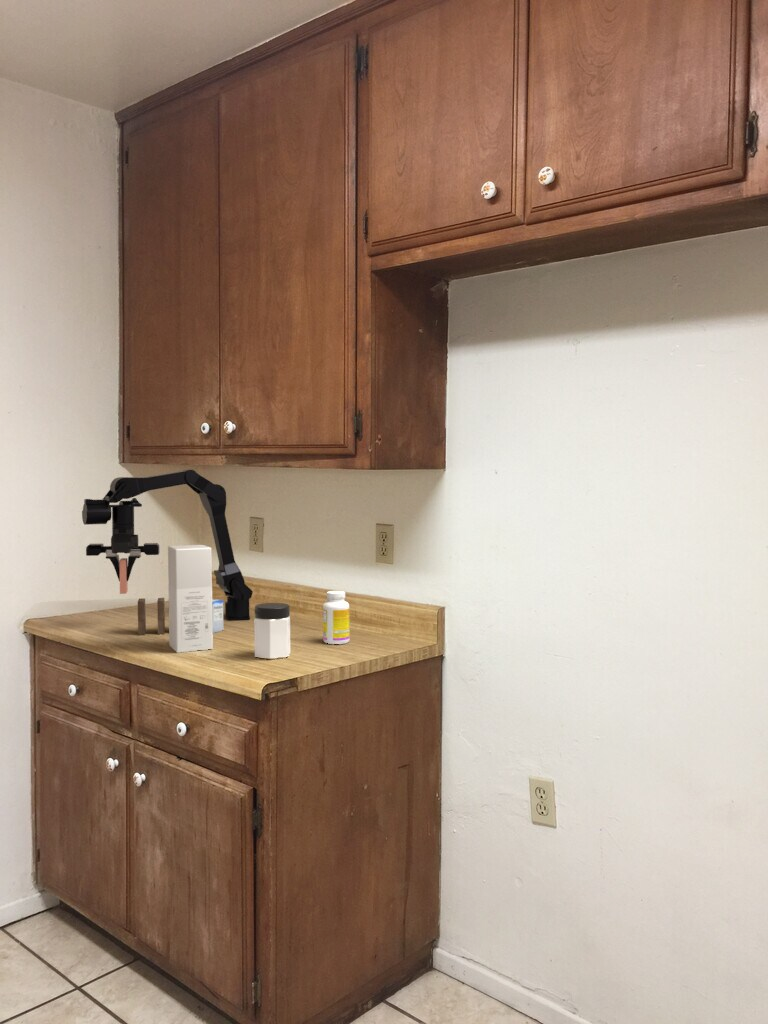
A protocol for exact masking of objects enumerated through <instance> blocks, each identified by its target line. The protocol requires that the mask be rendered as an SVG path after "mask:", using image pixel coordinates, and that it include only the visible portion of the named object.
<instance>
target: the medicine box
mask: <svg viewBox="0 0 768 1024" xmlns="http://www.w3.org/2000/svg"><path fill="white" fill-rule="evenodd" d="M212 618H213V634H216V633H215V632H217V633H219V632H218V631H221V632H223V631H224V600H223V599H219V598H217V599H216V598H212ZM222 630H223V631H222Z"/></svg>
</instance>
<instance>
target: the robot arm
mask: <svg viewBox="0 0 768 1024" xmlns="http://www.w3.org/2000/svg"><path fill="white" fill-rule="evenodd" d="M182 485H187V486H188V487H189V488H190V489H191V490H192V491H193V492H195V493H196V494H197V495H199V499H200V502H201V503H202V506H203V508H204V510H205V512H206V513H207V515H208V519H209V521H210V527H211V531H212V536H213V540H214V545H215V550H216V555H217V559H218V560H217V561H218V569H216V570H213V573H214V576H215V585H217V586H218V587H219V588H220V589H221V591H223V592H224V595H225V596H226V601H225V603H224V613H225V614H224V616H225V618H226V619H227V621H236V620H237V621H238V620H239V621H240V620H242V621H243V620H251V617H250V616H251V615H250V599H252V596H253V594H254V591H253V590H252V589H251V588H250V587H249V586H248V585H247V584H245V583H246V581H245V578H244V576H243V573H242V571H241V569H240V568H239V566H238V564H237V562H236V561H235V556H234V551H233V545H232V541H231V537H230V533H229V528H228V523H227V518H226V508H227V492H226V488H224V486H222V485H220V484H218V483H213V482H211V480H209V479H206V477H204V476H202V475H200V474H199V473H198V472H197V471H195V470H194V469H183V470H181V471H174V472H169V473H163V474H157V475H150V476H145V477H141V476H140V477H139V476H137V477H135V476H131V477H129V476H127V477H126V476H121V477H119V476H118V477H116V478H114V479H113V480H112V481H111V482H110V486H109V490H108V492H107V493H105V495H104V497H102V499H93V498H85V499H84V501H83V502H84V504H83V507H82V510H81V516H82V517H81V520H82V524H83V525H107V524H108V522H109V521H111V524H112V525H111V527H112V528H111V529H112V530H111V533H112V535H111V536H110V537H111V538H110V545H107V546H106V545H104V543H89V544H88V545H87V546H86V547H85V555H86V556H89V557H91V556H99V555H100V554H105V559H107V560H110V562H111V564H112V565H113V569H114V570H115V574H116V577H117V579H118V582H120V554H129V555H128V557H127V575H126V576H127V581H128V582H129V580H130V576H131V574H132V570H133V567H134V564H135V562H136V560H137V559H140V558H141V557H142V554H141V553H143V554H145V555H146V556H158V555H160V544H159V543H158V542H144V543H143V545H139V534H135V508H142V507H143V505H142V503H141V502H139V501H138V499H137V498H136V496H139V495H142V494H144V493H147V492H149V491H153V490H160V489H166V488H170V487H171V488H172V487H176V486H177V487H178V486H182ZM131 498H132V499H131ZM123 499H124V500H123ZM128 499H131V500H128ZM115 503H116V504H115ZM111 519H112V520H111Z"/></svg>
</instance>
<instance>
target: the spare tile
mask: <svg viewBox="0 0 768 1024" xmlns="http://www.w3.org/2000/svg"><path fill="white" fill-rule="evenodd" d="M119 561H120V581H119V594H120V595H123V594H124V595H125V594H127V593H128V591H129V590H128V588H129V587H128V585H129V584H128V582H129V580H128V581H127V576H126V575H127V567H128V557H125V558H119Z"/></svg>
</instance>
